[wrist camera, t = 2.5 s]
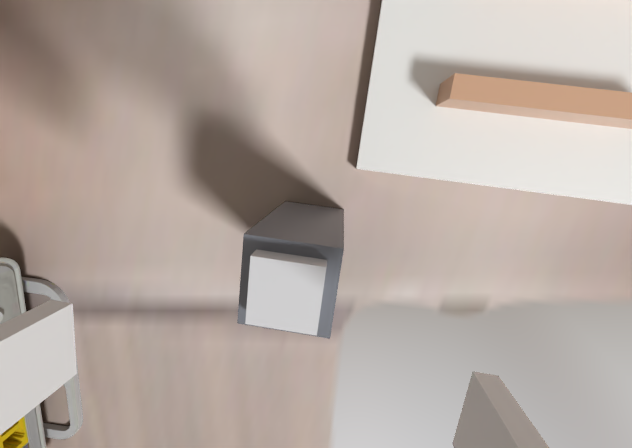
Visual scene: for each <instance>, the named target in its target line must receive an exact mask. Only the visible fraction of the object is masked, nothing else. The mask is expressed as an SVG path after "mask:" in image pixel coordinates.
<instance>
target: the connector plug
mask: <svg viewBox="0 0 632 448" xmlns="http://www.w3.org/2000/svg"><path fill="white" fill-rule="evenodd" d="M343 250H344V209H338V208H330V207H323V206H316V205H309V204H302V203H294V202H287V201H285V202H284V203H282V204H281V205H280V206H279V207H277V208H276V209H275V210H274V211H272V212H271V213H270V214H269V215H267V216H266V217H265V218H263V219H262V220H261V221H260V222H258V223H257V224H256V225H255V226H253V227H252V228H251V229H250V230H248V231H247V232H246V233H244V239H243V253H242V267H241V281H240V295H239V309H238V323H239V324H245V325H251V326H257V327H263V328H269V329H275V330H281V331H287V332H294V333H300V334H306V335H312V336H318V337H324V338H330V335H331V328H332V322H333V315H334V308H335V302H336V295H337V289H338V282H339V276H340V269H341V263H342V256H343Z"/></svg>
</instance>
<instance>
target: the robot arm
mask: <svg viewBox="0 0 632 448" xmlns="http://www.w3.org/2000/svg"><path fill="white" fill-rule="evenodd" d="M76 374H77V367H76V351H75V334H74V318H73V303H68V302H62V301H56V300H50V301H48V302H45V303H43V304H41V305H39V306H37V307H35V308H33V309H31V310H29V311H27V312H25V313H23V314H20V315H18V316H16V317H14V318H12V319H10V320H8V321H6V322H4V323H2V324H0V435H1V434H2V433H4V432H5V431H6V430H7V429H9V428H10V427H11V426H12V425H14V424H15V423H16V422H17V421H19V420H20V419H21V418H22V417H24V416H25V415H26V414H27V413H29V412H30V411H31V410H32V409H34V408H35V407H36V406H37V405H39V404H40V403H41V402H42V401H44V400H45V399H46V398H47V397H49V396H50V395H51V394H52V393H54V392H55V391H56V390H57V389H59V388H60V387H61V386H62V385H63V384H65V383H66V382H67V381H68V380H70V379H71V378H72V377H73V376H75V375H76ZM453 446H454V448H549V447H548V445H547V444H546V443H545V441H544V440H543V438H542V437H541V436H540V434H539V433H538V431H537V430H536V428H535V427H534V426H533V424H532V423H531V422H530V420H529V418H528V417H527V416H526V414H525V413H524V411H523V410H522V409H521V407H520V406H519V404H518V403H517V401H516V400H515V399H514V397H513V396H512V394H511V393H510V392H509V390H508V389H507V387H506V386H505V384H504V383H503V382H502V380H501V379H500V378H499V376H496V375H490V374H484V373H479V372H472V376H471V380H470V383H469V387H468V390H467V394H466V397H465V401H464V405H463V408H462V412H461V415H460V419H459V423H458V426H457V430H456V433H455V437H454V440H453Z"/></svg>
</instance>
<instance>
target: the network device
mask: <svg viewBox="0 0 632 448" xmlns="http://www.w3.org/2000/svg"><path fill="white" fill-rule="evenodd" d="M24 292H27V293H35V294H43V295H46V296H48V297H50V298H51V299H52V300H56V301H62V302H68V303H69V300H68V298H67V296H66V295H65V294H64V292H63V291H62V290H61V289H60V288H59V287H58V286H56V285H55V284H53V283H51V282H49V281H47V280H42V279H35V278H28V277H21V272H20V267H19V265H18V264H17V263H16V262H15V261H14V260H12V259H9V258H3V257H0V324H2V323H4V322H6V321H8V320H10V319H12V318H14V317H16V316H18V315H20V314H23V313H25V312H26V306H25V299H24ZM75 351H76V349H75ZM76 367H77V358H76ZM63 385H64V386H65V388H66V393H67V402H68V410H69V418H70V426H62V425H56V424H49V423H43V421H42V415H41V408H40V404H39V405H37V406H36V407H35V408H34V409H32V410H31V411H30V412H29V413H27V414H26V415H25V416H24V417H22V418H21V419H20V420H19V421H17V422H16V423H15V424H14V425H12V426H11V427H10V428H9V429H7V430H6V431H5V432H4V433H2V434H1V435H0V448H46V442H45V437H47V438H54V439H67V438H69V437H71V436H73V435H74V434H75V433H76V432H77V431H78V430H79V429H80V427H81V426H82V423H83V413H82V404H81V395H80V386H79V376H78V367H77V374H76V375H75V376H73V377H72V378H71V379H70V380H68V381H67V382H66V383H65V384H63Z"/></svg>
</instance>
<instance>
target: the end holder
mask: <svg viewBox="0 0 632 448" xmlns="http://www.w3.org/2000/svg"><path fill="white" fill-rule="evenodd" d="M356 169H362V170H369V171H377V172H385V173H392V174H400V175H408V176H415V177H423V178H430V179H438V180H446V181H453V182H461V183H469V184H476V185H484V186H492V187H499V188H507V189H515V190H522V191H530V192H538V193H545V194H553V195H561V196H568V197H576V198H584V199H591V200H599V201H607V202H614V203H622V204H630V205H632V0H382V2H381V8H380V15H379V21H378V28H377V34H376V41H375V47H374V54H373V60H372V67H371V73H370V80H369V86H368V93H367V99H366V106H365V112H364V119H363V125H362V132H361V139H360V145H359V152H358V158H357V165H356Z"/></svg>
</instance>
